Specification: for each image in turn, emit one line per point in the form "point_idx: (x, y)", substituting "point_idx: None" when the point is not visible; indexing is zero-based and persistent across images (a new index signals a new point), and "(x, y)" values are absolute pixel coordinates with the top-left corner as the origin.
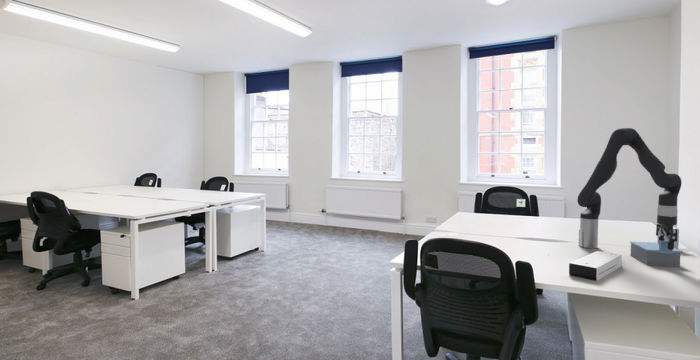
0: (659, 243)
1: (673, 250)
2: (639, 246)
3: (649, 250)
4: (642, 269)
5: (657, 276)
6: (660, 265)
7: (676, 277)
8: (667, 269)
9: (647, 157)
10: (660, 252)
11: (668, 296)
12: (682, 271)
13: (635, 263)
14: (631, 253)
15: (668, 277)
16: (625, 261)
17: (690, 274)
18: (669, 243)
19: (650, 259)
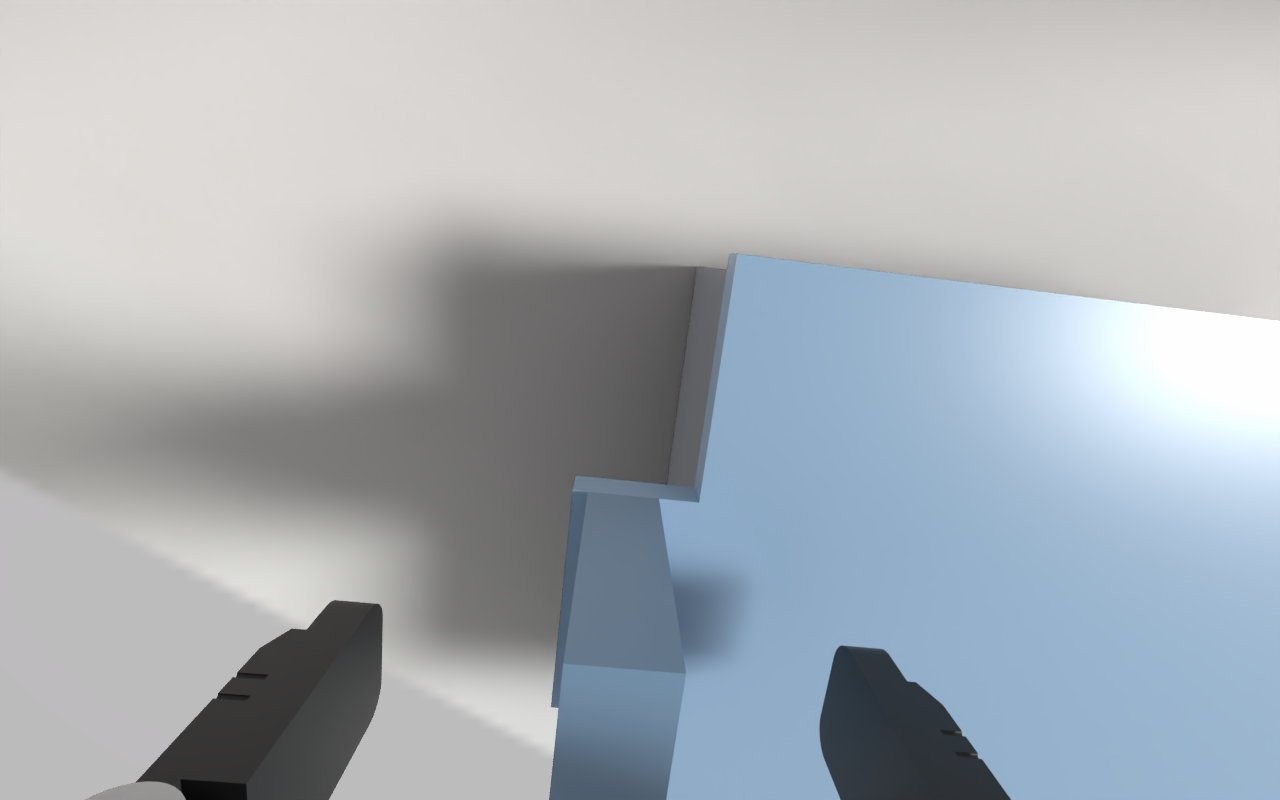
0: (655, 600)
1: (684, 783)
2: (1136, 303)
3: (722, 316)
4: (401, 26)
5: (5, 30)
6: (673, 448)
7: (44, 301)
8: (473, 425)
9: None
10: (580, 478)
11: None
12: (402, 558)
13: (774, 131)
14: None
15: (2, 180)
16: (898, 23)
17: (269, 570)
18: (224, 755)
19: (701, 326)
